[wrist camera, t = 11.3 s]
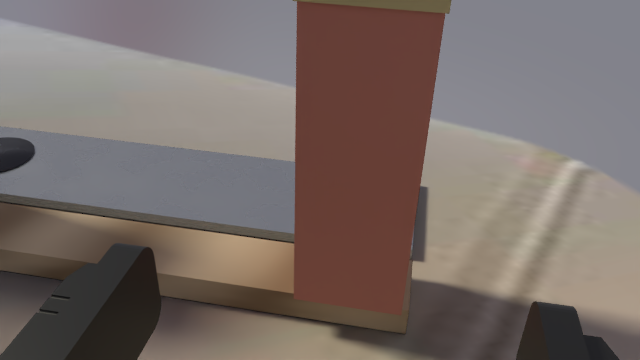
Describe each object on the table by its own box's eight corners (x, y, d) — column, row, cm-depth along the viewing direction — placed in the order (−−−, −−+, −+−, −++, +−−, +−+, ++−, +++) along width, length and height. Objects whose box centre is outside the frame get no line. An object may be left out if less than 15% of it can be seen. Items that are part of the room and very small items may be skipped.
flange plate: (-84, 189, 30) (-88, 179, 29) (-3, 133, 35) (-6, 124, 35) (411, 258, 26) (412, 248, 26) (416, 184, 31) (418, 175, 31)
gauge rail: (-176, 252, 25) (-344, -64, 18) (-100, 200, 29) (-217, -82, 22) (404, 345, 22) (458, -2, 15) (409, 272, 25) (455, -35, 19)
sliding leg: (290, 300, 22) (292, -22, 16) (311, 233, 25) (320, -51, 19) (403, 317, 21) (452, -10, 15) (409, 247, 25) (451, -42, 18)
